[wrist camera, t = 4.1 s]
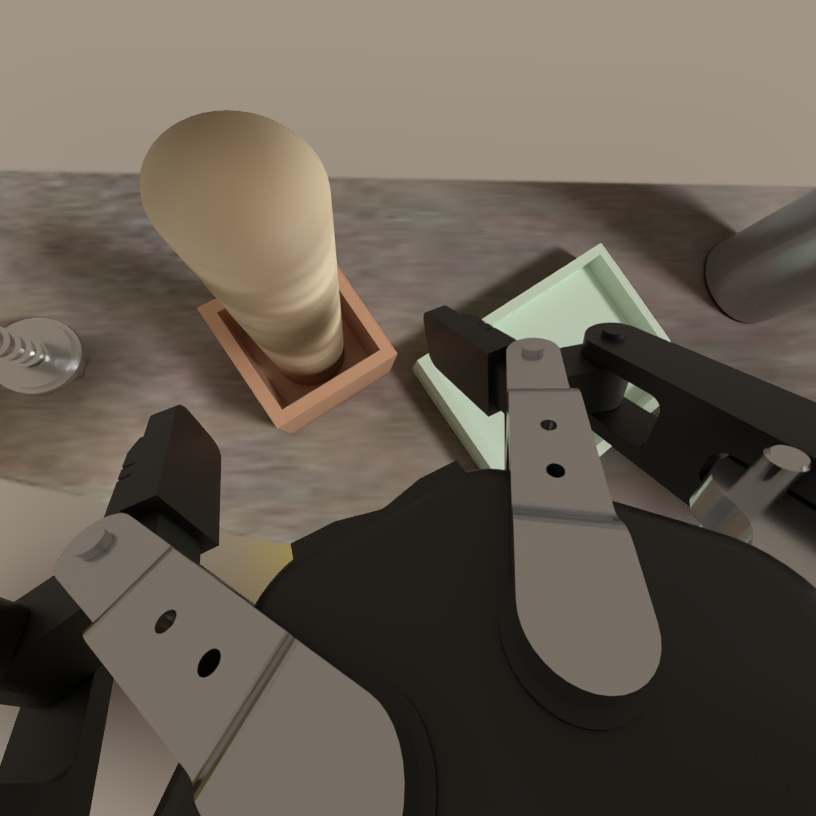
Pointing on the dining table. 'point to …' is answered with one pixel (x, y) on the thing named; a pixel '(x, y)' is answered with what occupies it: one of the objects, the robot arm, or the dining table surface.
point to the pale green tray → (553, 320)
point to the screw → (40, 356)
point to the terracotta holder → (296, 402)
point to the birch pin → (253, 232)
